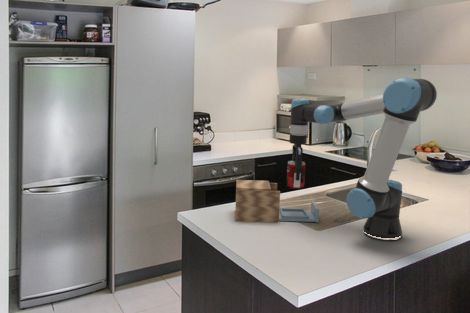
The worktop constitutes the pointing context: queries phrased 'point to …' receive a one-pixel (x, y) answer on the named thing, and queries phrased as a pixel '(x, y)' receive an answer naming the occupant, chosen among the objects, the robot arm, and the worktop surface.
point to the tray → (299, 214)
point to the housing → (257, 201)
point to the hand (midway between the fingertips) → (295, 184)
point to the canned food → (291, 175)
